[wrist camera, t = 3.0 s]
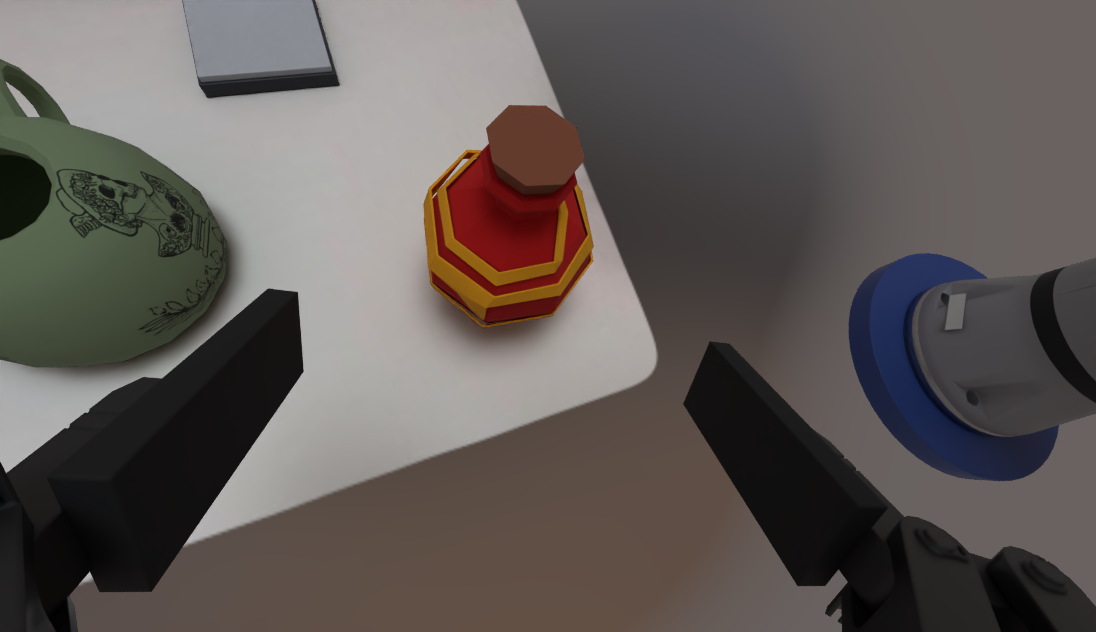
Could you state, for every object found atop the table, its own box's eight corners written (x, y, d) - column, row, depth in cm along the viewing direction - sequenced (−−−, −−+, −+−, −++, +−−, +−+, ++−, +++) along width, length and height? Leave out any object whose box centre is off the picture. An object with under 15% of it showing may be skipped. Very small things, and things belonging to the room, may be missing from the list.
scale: (314, -1, 35) (308, -21, 33) (339, 85, 33) (334, 68, 31) (188, 3, 32) (175, -18, 31) (207, 97, 30) (194, 79, 29)
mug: (261, 337, 26) (177, 287, 18) (-10, 409, 22) (-271, 387, 14) (213, 129, 30) (124, 9, 21) (-30, 160, 26) (-251, 28, 17)
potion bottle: (589, 305, 32) (698, 194, 18) (472, 376, 28) (494, 307, 14) (516, 198, 33) (564, 18, 19) (396, 252, 30) (349, 80, 16)
